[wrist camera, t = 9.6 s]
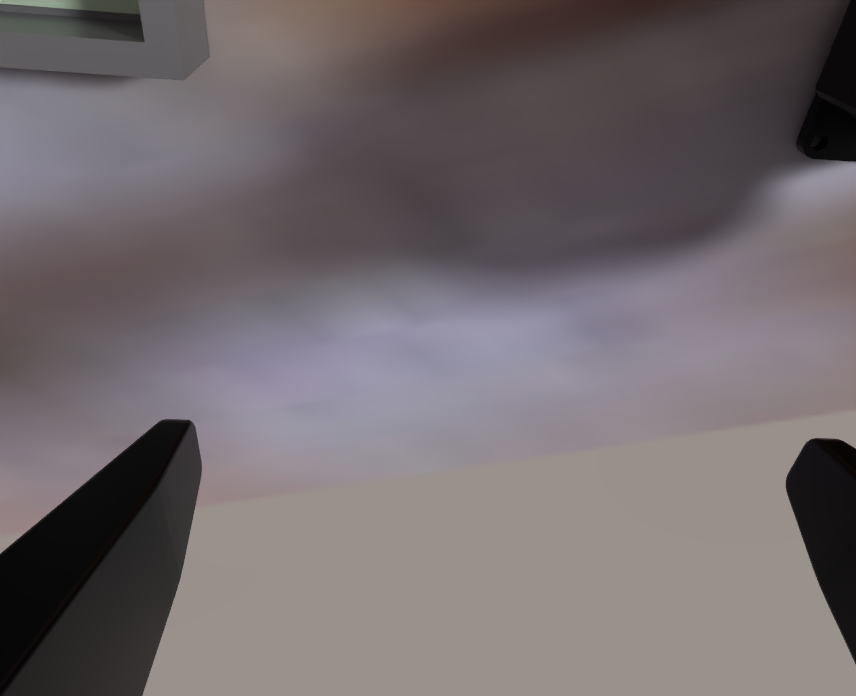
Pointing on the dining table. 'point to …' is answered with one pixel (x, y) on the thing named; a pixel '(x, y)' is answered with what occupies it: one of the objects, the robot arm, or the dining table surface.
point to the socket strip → (105, 36)
